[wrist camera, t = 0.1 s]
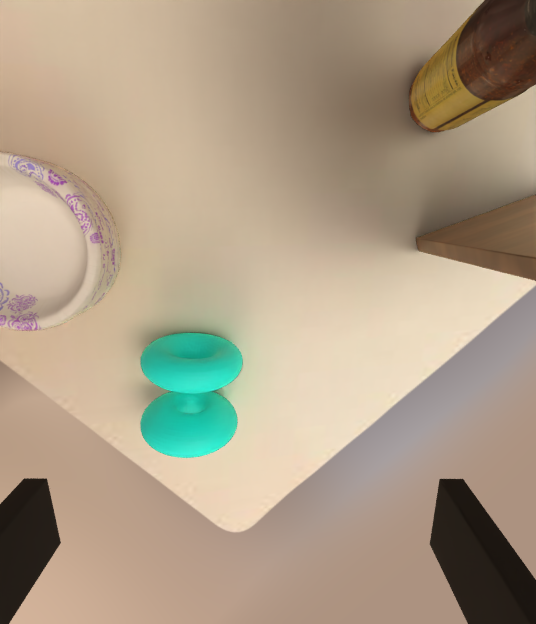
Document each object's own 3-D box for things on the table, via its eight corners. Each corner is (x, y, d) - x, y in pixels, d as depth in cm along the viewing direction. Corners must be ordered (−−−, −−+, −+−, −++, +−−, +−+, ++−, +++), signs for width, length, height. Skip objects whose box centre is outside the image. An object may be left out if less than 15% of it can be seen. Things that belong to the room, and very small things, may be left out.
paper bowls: (153, 204, 36) (121, 202, 28) (107, 331, 40) (68, 358, 32) (7, 136, 34) (-68, 114, 27) (-26, 274, 38) (-100, 290, 30)
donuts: (247, 334, 40) (239, 372, 30) (240, 411, 42) (231, 469, 33) (159, 325, 40) (123, 361, 30) (158, 403, 42) (124, 459, 33)
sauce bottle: (481, 71, 32) (781, -134, 13) (455, 142, 34) (690, 51, 15) (414, 52, 32) (625, -187, 13) (391, 125, 34) (549, 9, 15)
